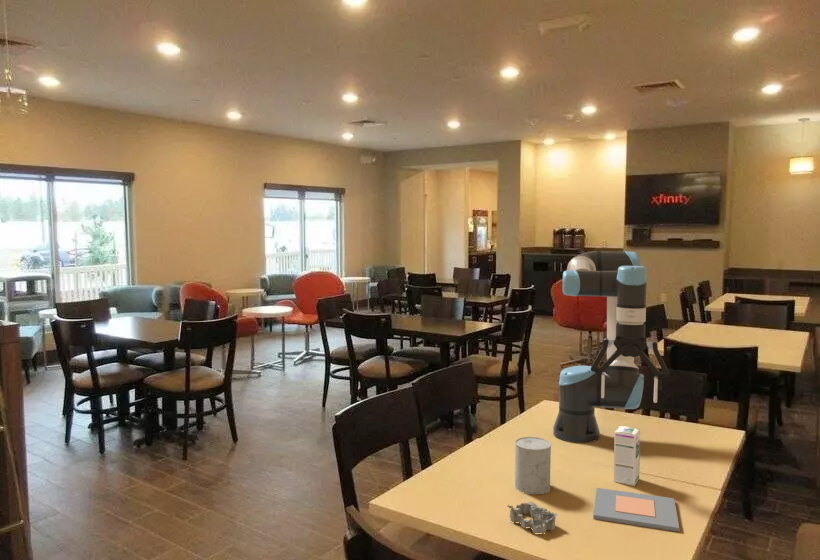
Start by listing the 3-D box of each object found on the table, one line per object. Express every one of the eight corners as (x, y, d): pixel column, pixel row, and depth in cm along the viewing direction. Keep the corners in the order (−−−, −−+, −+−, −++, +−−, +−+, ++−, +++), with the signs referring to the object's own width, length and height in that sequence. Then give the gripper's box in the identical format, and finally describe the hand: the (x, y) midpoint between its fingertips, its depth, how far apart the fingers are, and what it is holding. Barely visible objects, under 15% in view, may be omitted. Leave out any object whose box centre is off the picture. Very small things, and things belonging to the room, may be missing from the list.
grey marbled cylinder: (552, 482, 164) (552, 439, 163) (548, 497, 155) (549, 451, 154) (517, 477, 167) (518, 435, 166) (511, 492, 158) (512, 447, 157)
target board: (593, 518, 144) (593, 513, 143) (596, 491, 159) (596, 486, 158) (679, 532, 137) (679, 527, 137) (673, 502, 152) (674, 497, 152)
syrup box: (635, 486, 161) (636, 434, 160) (612, 481, 164) (614, 430, 163) (639, 479, 166) (641, 428, 165) (617, 474, 169) (619, 424, 168)
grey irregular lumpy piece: (504, 520, 144) (505, 504, 143) (526, 511, 148) (526, 495, 148) (538, 538, 135) (538, 521, 135) (560, 529, 139) (560, 512, 139)
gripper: (582, 322, 162) (580, 398, 164) (682, 327, 154) (679, 407, 155) (584, 318, 169) (582, 391, 171) (679, 322, 161) (677, 399, 162)
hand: (628, 399), depth 163 cm, fingers open, 13 cm apart
